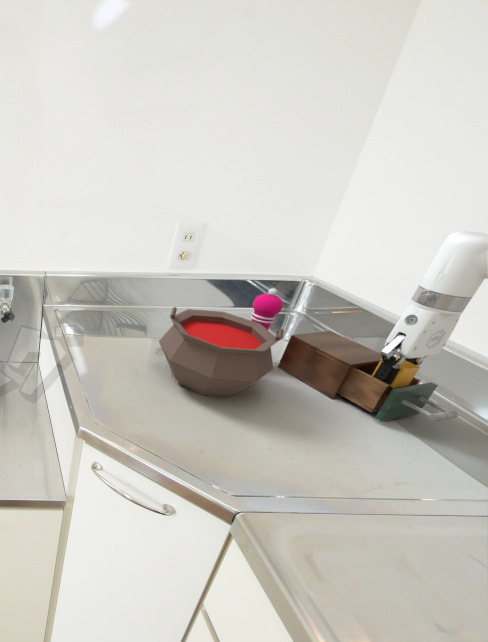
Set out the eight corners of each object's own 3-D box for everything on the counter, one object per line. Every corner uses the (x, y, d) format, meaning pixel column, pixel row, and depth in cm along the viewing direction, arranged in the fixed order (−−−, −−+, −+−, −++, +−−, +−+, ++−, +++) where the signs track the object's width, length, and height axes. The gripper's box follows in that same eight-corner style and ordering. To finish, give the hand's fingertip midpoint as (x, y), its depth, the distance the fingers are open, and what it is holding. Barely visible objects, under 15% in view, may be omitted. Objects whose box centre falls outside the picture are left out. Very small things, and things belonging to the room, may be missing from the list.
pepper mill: (233, 367, 106) (262, 291, 96) (226, 354, 112) (252, 281, 102) (264, 371, 105) (297, 295, 95) (255, 358, 111) (285, 285, 101)
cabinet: (372, 392, 98) (392, 358, 94) (332, 399, 95) (351, 364, 91) (314, 361, 110) (330, 330, 106) (277, 367, 107) (291, 334, 103)
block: (385, 374, 92) (396, 356, 90) (408, 385, 88) (420, 366, 86) (370, 376, 91) (381, 358, 88) (393, 387, 87) (405, 369, 85)
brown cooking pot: (259, 371, 105) (284, 310, 97) (264, 423, 86) (297, 353, 78) (158, 347, 114) (174, 289, 106) (143, 389, 95) (161, 323, 87)
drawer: (453, 432, 85) (475, 402, 81) (414, 440, 82) (435, 410, 78) (355, 380, 101) (370, 354, 97) (319, 386, 98) (333, 358, 94)
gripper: (432, 310, 75) (380, 395, 84) (493, 304, 79) (437, 385, 88) (387, 295, 81) (343, 375, 90) (446, 290, 86) (398, 367, 95)
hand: (390, 379), depth 89 cm, fingers closed on block, 4 cm apart
